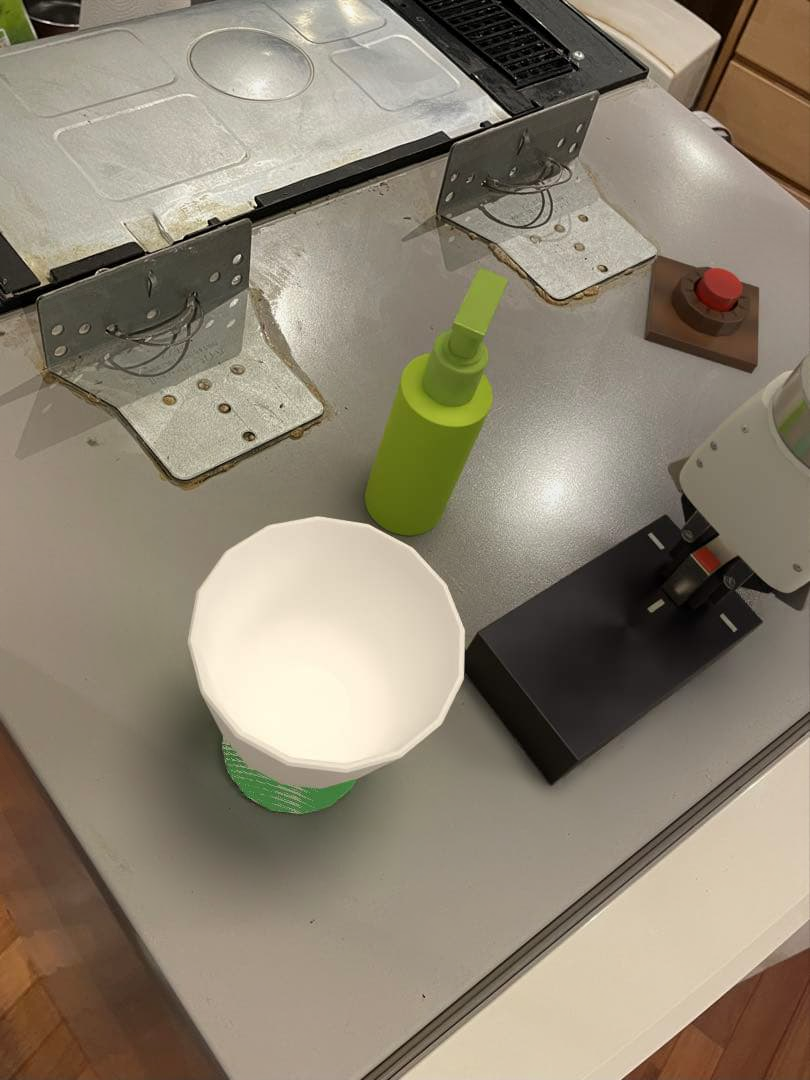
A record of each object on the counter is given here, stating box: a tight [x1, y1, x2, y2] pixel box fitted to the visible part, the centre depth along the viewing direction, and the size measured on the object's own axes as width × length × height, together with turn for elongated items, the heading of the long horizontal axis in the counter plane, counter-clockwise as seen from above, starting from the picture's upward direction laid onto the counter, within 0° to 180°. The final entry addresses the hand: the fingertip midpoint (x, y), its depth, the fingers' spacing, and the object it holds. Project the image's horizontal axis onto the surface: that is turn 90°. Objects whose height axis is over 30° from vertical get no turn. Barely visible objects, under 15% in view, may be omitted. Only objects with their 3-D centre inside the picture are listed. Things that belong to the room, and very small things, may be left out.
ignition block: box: [644, 254, 760, 374], centre depth 88 cm, size 10×10×3 cm
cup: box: [186, 515, 466, 815], centre depth 55 cm, size 14×14×16 cm
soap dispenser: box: [364, 266, 510, 537], centre depth 64 cm, size 6×7×20 cm
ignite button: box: [695, 267, 742, 312], centre depth 86 cm, size 4×4×2 cm
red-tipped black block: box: [661, 534, 739, 606], centre depth 66 cm, size 4×2×5 cm, turn 127°
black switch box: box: [464, 513, 764, 786], centre depth 67 cm, size 20×10×5 cm, turn 127°
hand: (691, 581), depth 68 cm, fingers closed on red-tipped black block, 2 cm apart
